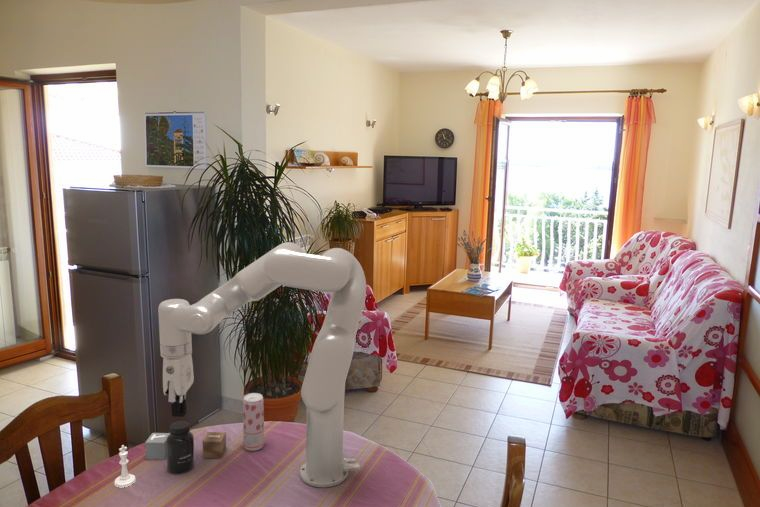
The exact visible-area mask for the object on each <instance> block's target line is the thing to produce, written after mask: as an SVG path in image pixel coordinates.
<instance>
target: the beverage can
mask: <svg viewBox="0 0 760 507" xmlns="http://www.w3.org/2000/svg"><path fill="white" fill-rule="evenodd" d="M264 402H265V400H264V396H263V394H261V393H260V392H259V393H258V392H250V393H247V394H245V395H244V396H243V400H242V408H243V409H242V411H243V412H242V413H243V414H242V417H243V419H242V420H243V421H242V424H243V425H242V426H243V430H242V431H243V448H244V449H245V450H246V451H250V452H254V451H258V450H261V449H262V448H263V447H264V446H265V417H264V416H265V413H264V412H265V410H264V408H265V406H264Z"/></svg>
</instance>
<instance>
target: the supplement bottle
mask: <svg viewBox="0 0 760 507" xmlns="http://www.w3.org/2000/svg"><path fill="white" fill-rule="evenodd" d="M190 430H191V428H190V422H188V421H184V420H178V421H174V422H173V423H171V424H170V426H169V433H170V434H169V435H168V437H167V439H166V454H167V457H166V469H167V471H168V472H169V473H171V474H175V475H176V474H184V473H187V472H189V471H190V470H192V469H193V467H194V466H195V440H194V438H195V437H194V434H193V432H192V431H190Z"/></svg>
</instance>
